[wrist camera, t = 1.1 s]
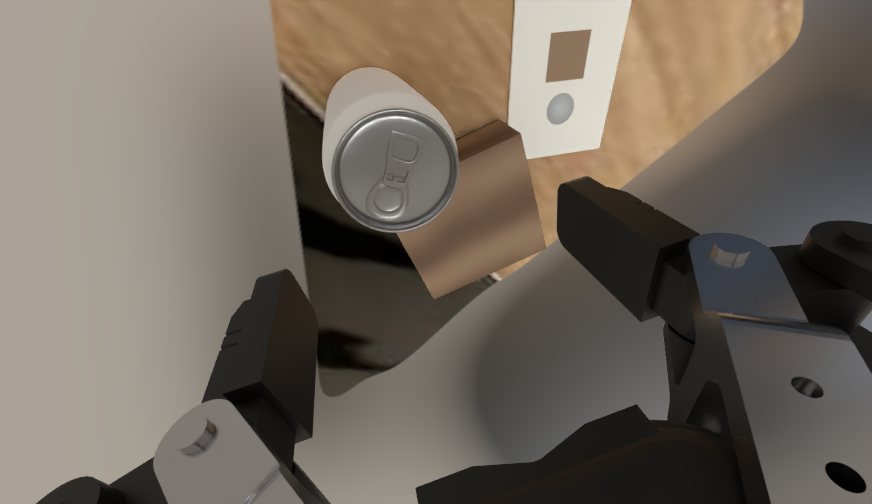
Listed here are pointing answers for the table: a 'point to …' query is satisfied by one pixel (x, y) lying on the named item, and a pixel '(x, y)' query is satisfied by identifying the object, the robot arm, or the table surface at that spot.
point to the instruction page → (563, 72)
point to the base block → (480, 214)
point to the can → (387, 152)
